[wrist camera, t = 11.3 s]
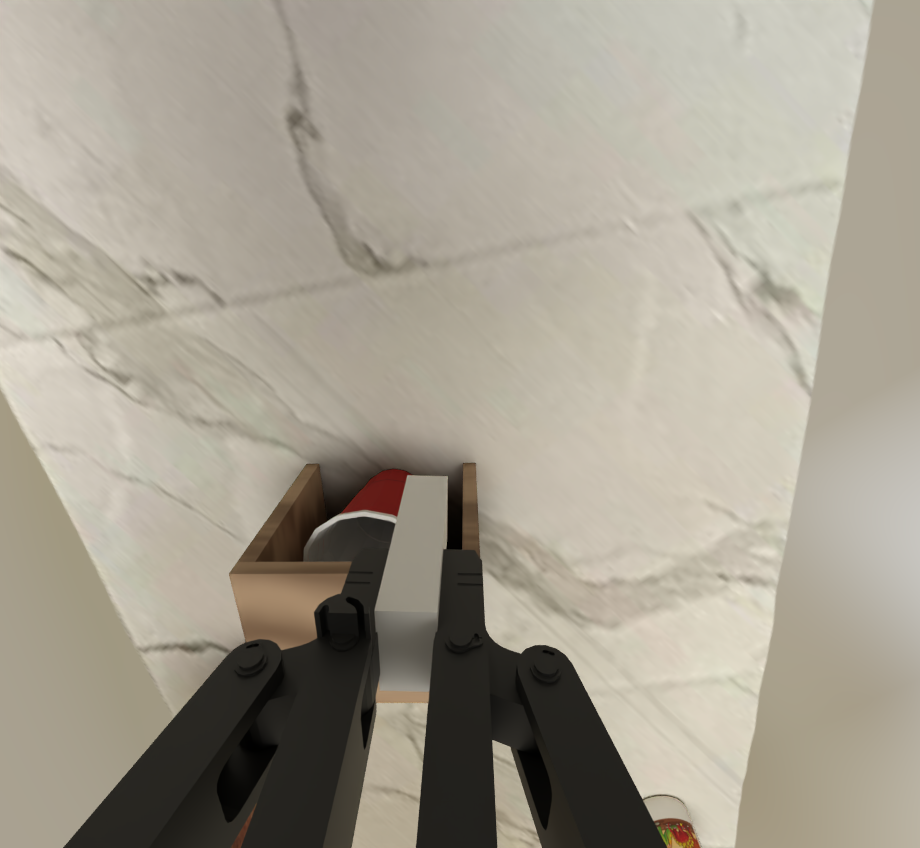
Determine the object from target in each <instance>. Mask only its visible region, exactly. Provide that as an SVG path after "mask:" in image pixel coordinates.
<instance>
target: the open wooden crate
mask: <svg viewBox="0 0 920 848" xmlns="http://www.w3.org/2000/svg"><path fill="white" fill-rule="evenodd" d="M326 522H327V516H326V509H325V502H324V495H323V488H322V481H321V474H320V467H319V464H306V466H305V467H304V469H303V470H302V471H301V473H300V474H299V476H298V477H297V479H296V480H295V481H294V483H293V484H292V486H291V487H290V488H289V490H288V491H287V493H286V494H285V495H284V497H283V498H282V500H281V501H280V503H279V504H278V505H277V507H276V508H275V510H274V511H273V512H272V514H271V515H270V517H269V518H268V519H267V521H266V522H265V524H264V525H263V527H262V528H261V529H260V531H259V532H258V534H257V535H256V536H255V538H254V539H253V541H252V542H251V543H250V545H249V546H248V548H247V549H246V551H245V552H244V553H243V555H242V556H241V558H240V559H239V560H238V562H237V563H236V565H235V566H234V567H233V569H232V570H231V572H230V573H229V576H230V580H231V584H232V588H233V592H234V596H235V600H236V604H237V608H238V612H239V616H240V620H241V624H242V628H243V632H244V636H245V640H246V642H249V641H253V640H257V639H266V640H271V641H273V642H275V643H277V644H278V646H279V648H280V649H281V650H284V649H288V648H292V647H296V646H300V645H303V644H306V643H309V642H311V641H313V640H314V639H316V638H317V632H316V625H315V618H314V611H315V610H316V608H317V607H318V605H319V604H320V603H322V602H323V601H324V600H326V599H327V598H329V597H331V596H334V595H336V594H341V592H342V589H343V586H344V584H345V580H346V577H347V575H348V573H349V569H350V566H351V563H352V562H303V558H304V547H305V546H306V544H307V542H308V541H309V539H310V537H311V535H312V534H313V532H314V530H315V529H316V528H318V527H319V526H321V525H322V524H324V523H326ZM462 550H475V551H476V553H477V554H478V556H479V557H480V546H479V525H478V504H477V483H476V463H463V539H462ZM428 701H429V692H416V691H380V686H379V683H378V688H377V693H376V703H428Z"/></svg>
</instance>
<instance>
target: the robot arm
mask: <svg viewBox="0 0 920 848" xmlns="http://www.w3.org/2000/svg"><path fill="white" fill-rule="evenodd" d="M447 500H448V476H417V475H407V479H406V483H405V487H404V491H403V495H402V500H401V504H400V508H399V512H398V516H397V520H396V524H395V528H394V532H393V536H392V541H391V545H390V549H376V548H363V549H362V550H361V551H360V552H359V553H358V554H357V555H356V556H355V557H354V558H353V560H352V563H351V566H350V569H349V573H348V575H347V577H346V580H345V584H344V586H343V589H342V592H341V594H336V595H334V596H331V597H329V598H327V599H326V600H324V601H323V602H322V603H320V604H319V605H318V607H317V608H316V610H315V611H314V618H315V625H316V632H317V638H316V639H314V640H313V641H311V642H309V643H306V644H303V645H300V646H296V647H292V648H288V649H284V650H281V649H280V648H279V646H278V644H277V643H275V642H273V641H271V640H266V639H257V640H253V641H249V642H246V643H244V644H242V645H240V646H239V647H237V648H235V649H234V650H233V651H232V652H231V653H230V654H229V655H228V656H227V657H226V658H225V659H224V660H223V661H222V662H221V664H220V665H219V666H218V667H217V668H216V669H215V671H214V672H213V673H212V674H211V675H210V676H209V678H208V679H207V680H206V681H205V682H204V683H203V685H202V686H201V687H200V688H199V689H198V690H197V692H196V693H195V694H194V695H193V696H192V698H191V699H190V700H189V701H188V702H187V703H186V705H185V706H184V707H183V708H182V709H181V710H180V712H179V713H178V714H177V715H176V716H175V717H174V719H173V720H172V721H171V722H170V723H169V724H168V726H167V727H166V728H165V729H164V730H163V732H162V733H161V734H160V735H159V736H158V737H157V739H156V740H155V741H154V742H153V744H152V745H151V746H150V747H149V748H148V749H147V750H146V751H145V753H144V754H143V755H142V756H141V758H139V760H138V761H137V762H136V763H135V764H134V765H133V767H132V768H131V769H130V770H129V771H128V773H127V774H126V775H125V776H124V777H123V778H122V780H121V781H120V782H119V783H118V784H117V785H116V787H115V788H114V789H113V790H112V791H111V792H110V794H109V795H108V796H107V797H106V798H105V799H104V801H103V802H102V803H101V804H100V805H99V806H98V808H97V809H96V810H95V811H94V812H93V814H92V815H91V816H90V817H89V818H88V819H87V820H86V822H85V823H84V824H83V825H82V826H81V828H80V829H79V830H78V831H77V832H76V833H75V835H74V836H73V837H72V838H71V840H69V842H68V843H67V844H66V845H65V846H64V847H63V848H231V846H232V845H233V843H234V841H235V840H236V838H237V836H238V834H239V833H240V831H241V829H242V828H243V826H244V824H245V822H246V821H247V819H248V817H249V815H250V814H251V812H252V810H253V809H254V807H255V805H256V807H255V810H254V813H253V815H252V818H251V821H250V824H249V826H248V829H247V832H246V835H245V837H244V840H243V843H242V845H241V848H351V847H352V841H353V836H354V830H355V825H356V820H357V814H358V809H359V803H360V798H361V793H362V787H363V782H364V776H365V771H366V766H367V760H368V755H369V749H370V744H371V739H372V733H373V728H374V722H375V717H376V693H377V688H378V683H379V686H380V691H416V692H429V701H428V713H427V725H426V737H425V748H424V760H423V772H422V784H421V796H420V808H419V820H418V832H417V843H416V848H497V832H496V811H495V790H494V769H493V748H492V740H495V741H497V742H500V743H502V744H505V745H507V746H510V747H511V751H512V754H513V757H514V760H515V763H516V767H517V770H518V773H519V776H520V779H521V782H522V786H523V789H524V792H525V795H526V798H527V801H528V805H529V808H530V811H531V814H532V817H533V820H534V824H535V827H536V830H537V833H538V836H539V840H540V843H541V846H542V848H667V846H666V844H665V842H664V840H663V838H662V836H661V834H660V832H659V830H658V828H657V827H656V825H655V823H654V821H653V819H652V817H651V815H650V813H649V811H648V809H647V807H646V805H645V803H644V801H643V800H642V798H641V796H640V794H639V792H638V790H637V788H636V786H635V784H634V782H633V780H632V778H631V776H630V774H629V773H628V771H627V769H626V767H625V765H624V763H623V761H622V759H621V757H620V755H619V753H618V751H617V749H616V747H615V746H614V744H613V742H612V740H611V738H610V736H609V734H608V732H607V730H606V728H605V726H604V724H603V722H602V720H601V719H600V717H599V715H598V713H597V711H596V709H595V707H594V705H593V703H592V701H591V699H590V697H589V695H588V693H587V692H586V690H585V688H584V686H583V684H582V682H581V680H580V678H579V676H578V674H577V672H576V670H575V668H574V666H573V665H572V663H571V662H570V660H569V659H568V658H567V656H566V655H565V654H563V653H562V652H560V651H559V650H557V649H556V648H552V647H549V646H546V645H535V646H532V647H530V648H527V649H525V650H524V651H523V652H522V653H521V654H520V653H517V652H514V651H511V650H508V649H506V648H503V647H501V646H500V645H498V644H497V643H495V642H494V641H493V640H492V639H491V637H490V636H489V634H488V633H487V631H486V627H485V616H484V595H483V576H482V574H483V573H482V560H481V559H480V557H479V556H478V554H477V553H476V551H475V550H457V549H446V546H447ZM256 803H257V804H256Z"/></svg>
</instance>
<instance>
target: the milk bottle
mask: <svg viewBox="0 0 920 848" xmlns="http://www.w3.org/2000/svg"><path fill="white" fill-rule="evenodd" d="M643 801H644V803H645V805H646V807H647V809H648V811H649V813H650V815H651V817H652V819H653V821H654V823H655V825H656V827H657V828H658V830H659V832H660V834H661V836H662V838H663V840H664V842H665V844H666V846H667V848H702V846H701V843H700V841H699V838H698V836H697V833H696V830H695V828H694V825H693V823H692V820H691V818H690V815H689V813H688V811H687V808H686V807H685V805H684V804H683V803H682V802H681V801H680V800H678V799H676V798H673V797H669V796H656V797H651V798H647V799H645V800H643Z"/></svg>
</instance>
